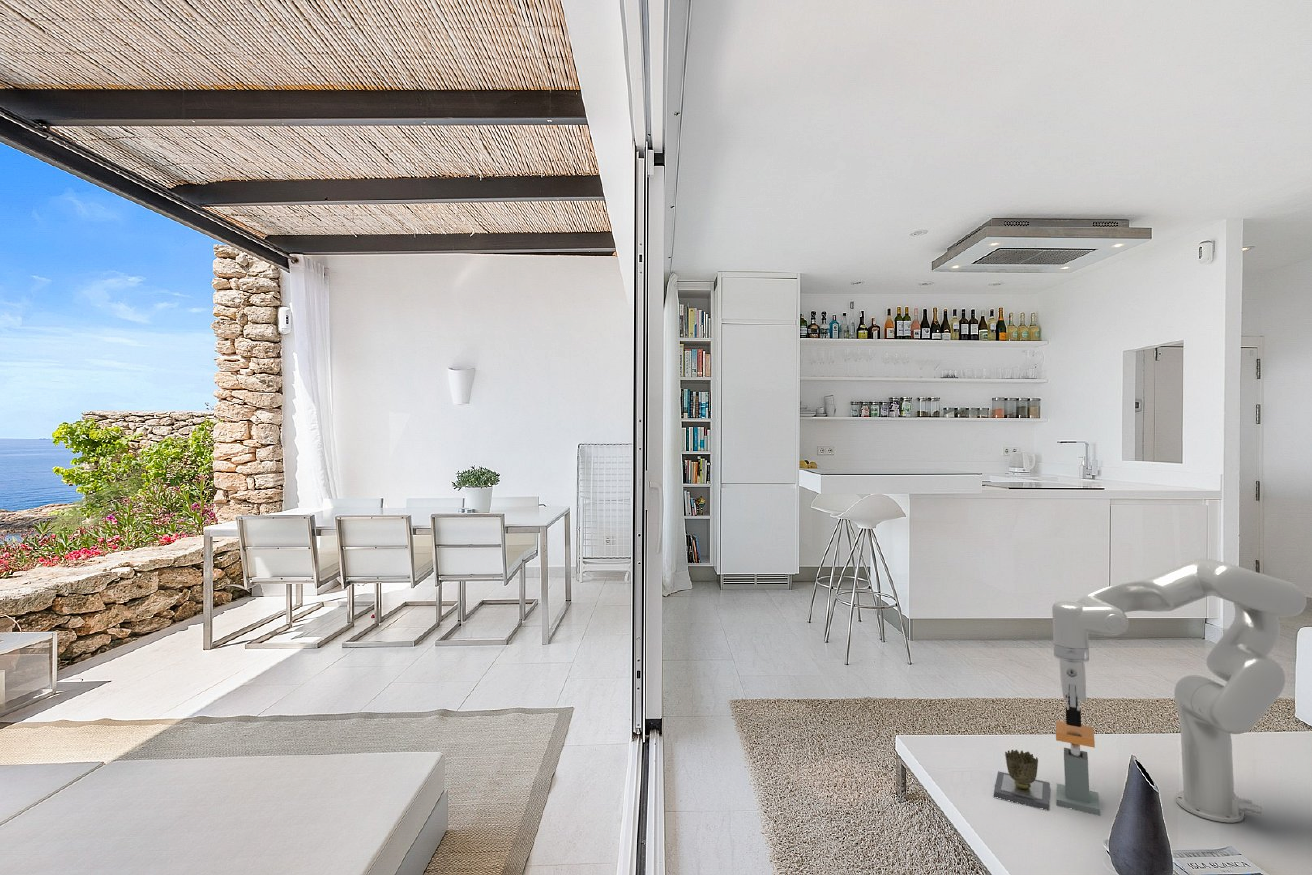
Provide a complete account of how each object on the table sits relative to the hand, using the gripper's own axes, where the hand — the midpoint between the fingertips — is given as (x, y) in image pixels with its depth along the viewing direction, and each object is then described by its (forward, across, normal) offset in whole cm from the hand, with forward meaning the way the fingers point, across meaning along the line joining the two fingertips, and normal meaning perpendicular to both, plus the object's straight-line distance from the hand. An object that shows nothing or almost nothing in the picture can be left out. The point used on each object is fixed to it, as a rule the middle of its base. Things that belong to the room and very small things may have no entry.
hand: (1073, 724), depth 161 cm
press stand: (+19, 0, 0) cm, 19 cm away
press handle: (+13, 0, 0) cm, 13 cm away
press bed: (+19, -2, +12) cm, 23 cm away
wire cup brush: (+18, -2, +12) cm, 21 cm away
